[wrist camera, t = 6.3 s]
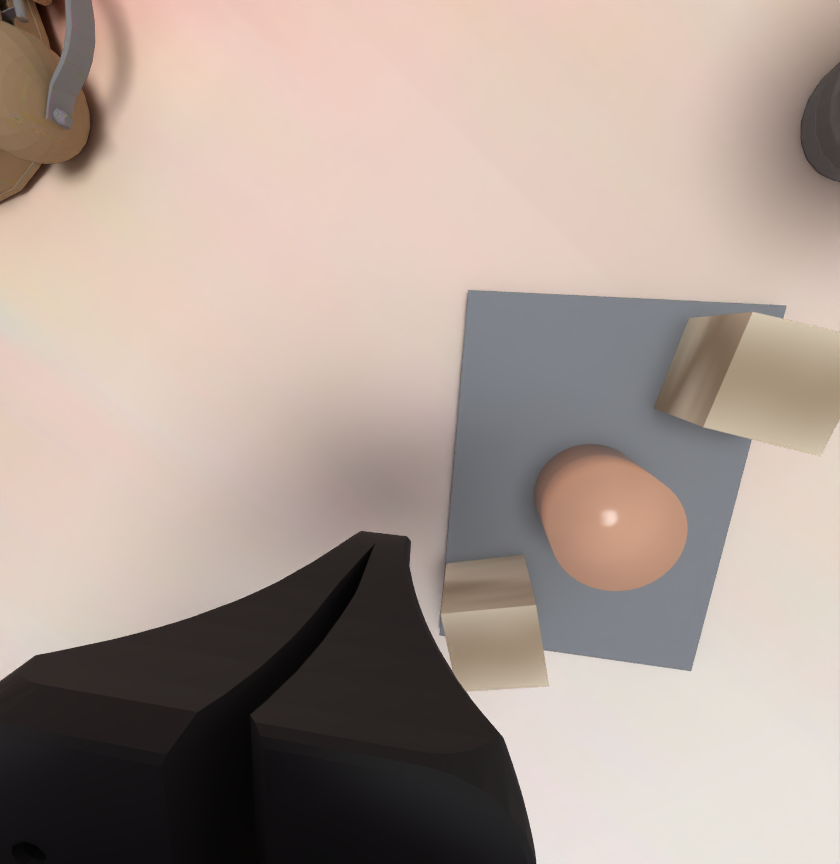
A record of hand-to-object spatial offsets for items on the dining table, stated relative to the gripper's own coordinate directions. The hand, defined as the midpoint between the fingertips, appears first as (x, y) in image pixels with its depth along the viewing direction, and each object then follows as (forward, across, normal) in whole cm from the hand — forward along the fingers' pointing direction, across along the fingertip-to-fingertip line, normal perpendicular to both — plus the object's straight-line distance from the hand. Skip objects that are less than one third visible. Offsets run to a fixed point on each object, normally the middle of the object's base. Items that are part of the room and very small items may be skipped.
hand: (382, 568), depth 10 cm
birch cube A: (+10, -4, +7) cm, 13 cm away
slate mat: (+10, -8, +1) cm, 13 cm away
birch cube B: (+10, -12, -5) cm, 17 cm away
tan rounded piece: (+10, -8, +1) cm, 13 cm away
